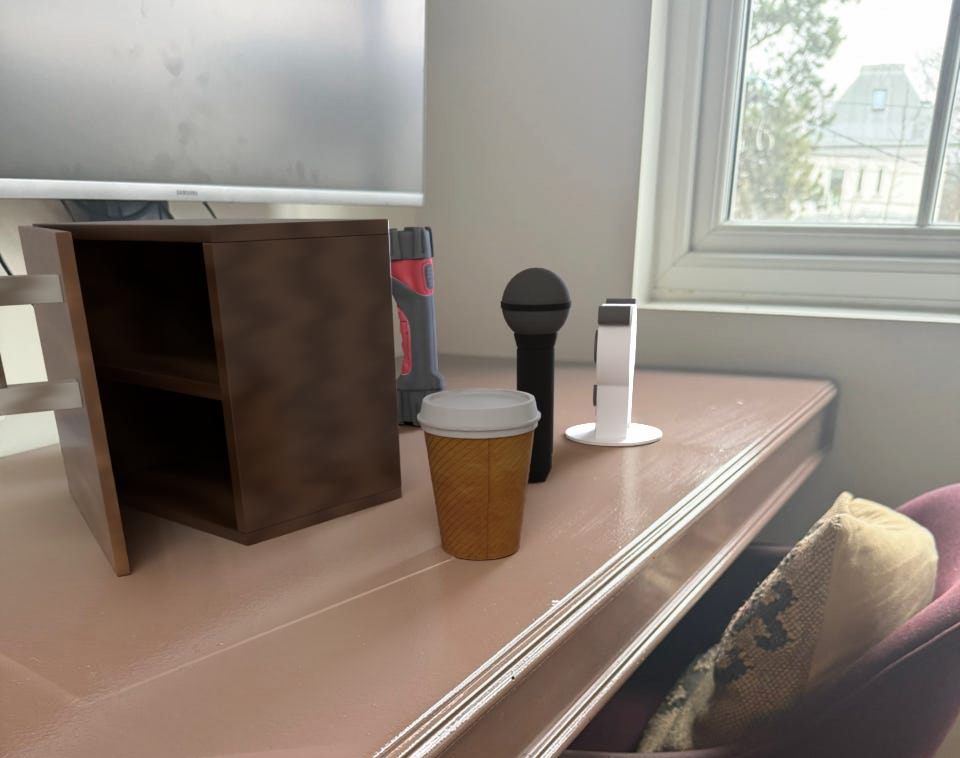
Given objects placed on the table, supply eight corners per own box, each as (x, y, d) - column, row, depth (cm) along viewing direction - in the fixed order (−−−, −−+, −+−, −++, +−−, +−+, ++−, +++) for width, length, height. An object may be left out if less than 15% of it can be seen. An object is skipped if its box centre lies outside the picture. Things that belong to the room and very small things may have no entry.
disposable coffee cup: (444, 525, 84) (439, 385, 79) (551, 534, 82) (553, 389, 77) (405, 561, 76) (397, 407, 71) (522, 572, 73) (523, 413, 68)
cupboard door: (26, 592, 71) (-55, 235, 61) (-2, 503, 92) (-65, 227, 82) (131, 574, 74) (71, 231, 64) (80, 492, 95) (29, 225, 85)
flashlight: (374, 418, 126) (363, 226, 117) (432, 413, 128) (425, 225, 119) (388, 430, 119) (377, 228, 110) (448, 424, 122) (443, 226, 112)
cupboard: (248, 547, 80) (209, 225, 69) (82, 492, 95) (31, 223, 85) (402, 498, 92) (388, 218, 82) (233, 457, 108) (204, 218, 98)
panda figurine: (572, 422, 122) (575, 296, 116) (663, 425, 120) (671, 297, 113) (559, 444, 111) (562, 307, 105) (660, 447, 109) (668, 307, 103)
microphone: (574, 486, 95) (580, 268, 87) (508, 490, 94) (507, 270, 86) (558, 469, 101) (562, 264, 92) (496, 473, 100) (494, 266, 92)
